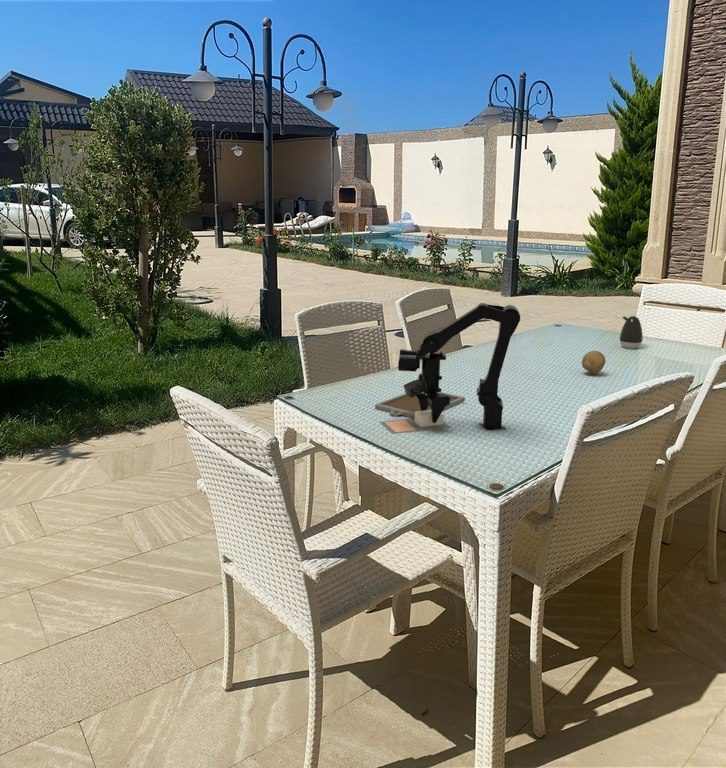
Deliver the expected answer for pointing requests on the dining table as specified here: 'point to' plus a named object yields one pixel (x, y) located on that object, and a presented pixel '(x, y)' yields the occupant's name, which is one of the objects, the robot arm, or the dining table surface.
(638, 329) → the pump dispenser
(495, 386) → the robot arm
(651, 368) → the dining table surface
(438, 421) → the beige rectangular block
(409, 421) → the mat
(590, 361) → the brown potato
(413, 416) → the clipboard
